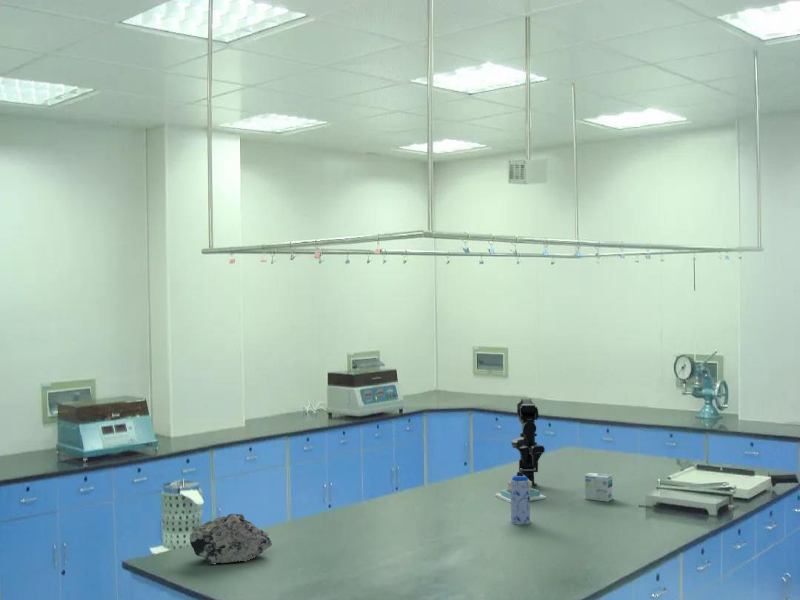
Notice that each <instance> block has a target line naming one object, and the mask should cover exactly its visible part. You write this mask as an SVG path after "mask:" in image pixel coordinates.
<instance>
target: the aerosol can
mask: <svg viewBox="0 0 800 600" xmlns="http://www.w3.org/2000/svg"><path fill="white" fill-rule="evenodd" d="M510 482H511V503H510V517H511V518H510V523H511V524H514V525H521V526H522V525H529V524H531V505H530V504H531V500H530V482H529V479H528V478H527V477H526V476H525V475H523V472H522V471H519V470H518V471H517V472H516V475H513V476H512V477H511V479H510Z"/></svg>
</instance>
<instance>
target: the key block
mask: <svg viewBox="0 0 800 600" xmlns="http://www.w3.org/2000/svg"><path fill="white" fill-rule="evenodd" d="M529 482H530V491H532V488H533V485H532V481H529ZM507 489H508V492H510V493H511V481H508V482H507Z"/></svg>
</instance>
